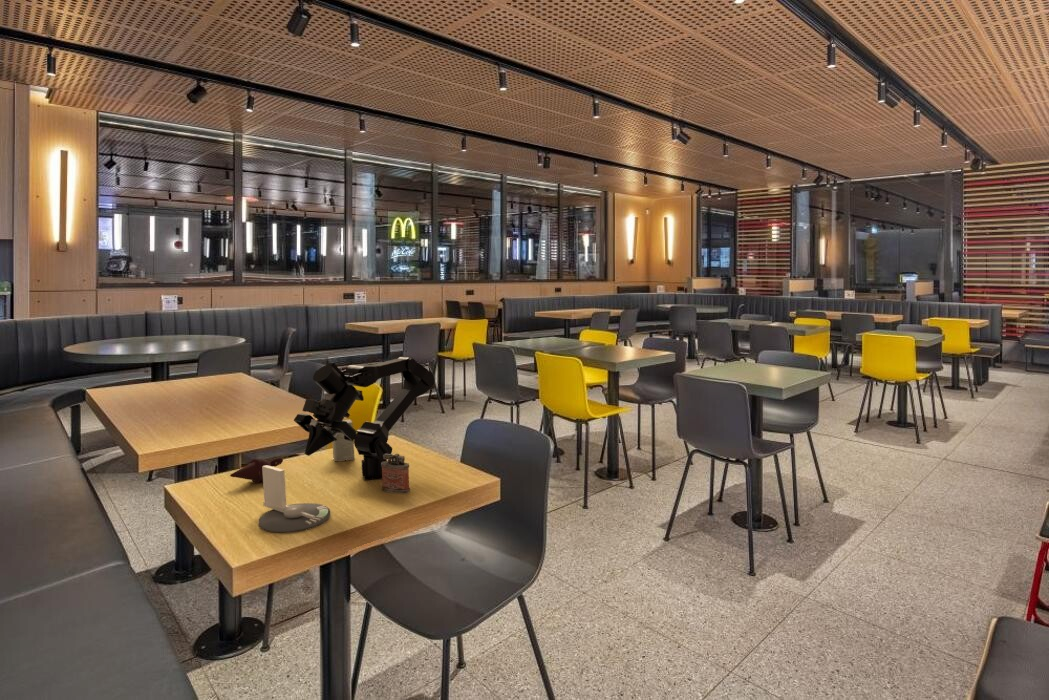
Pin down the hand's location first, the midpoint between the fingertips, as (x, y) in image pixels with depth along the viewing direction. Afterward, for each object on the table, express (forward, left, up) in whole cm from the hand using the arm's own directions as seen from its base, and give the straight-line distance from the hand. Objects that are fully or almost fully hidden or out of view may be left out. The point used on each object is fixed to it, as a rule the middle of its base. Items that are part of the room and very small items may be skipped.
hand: (306, 454), depth 157 cm
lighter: (-22, 0, -12) cm, 25 cm away
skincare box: (-10, -34, -12) cm, 38 cm away
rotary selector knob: (+4, +10, -11) cm, 15 cm away
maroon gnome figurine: (+14, -20, -13) cm, 28 cm away
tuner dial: (+3, +11, -12) cm, 17 cm away
